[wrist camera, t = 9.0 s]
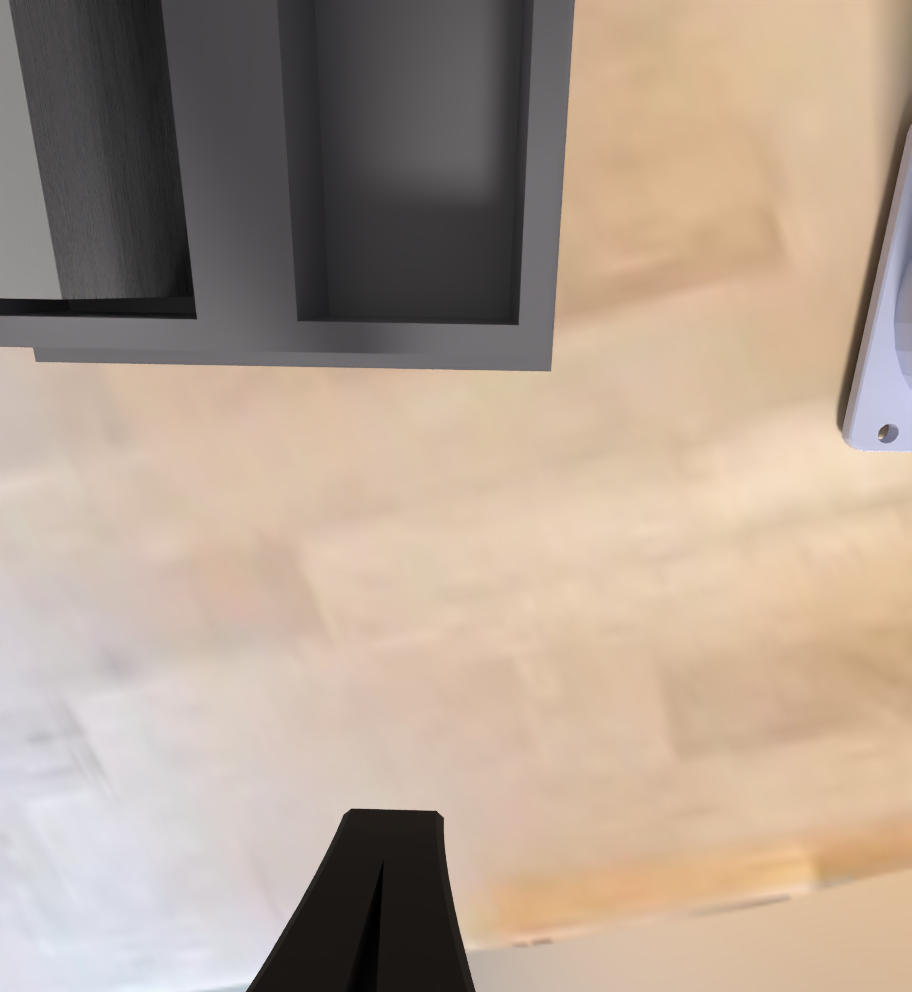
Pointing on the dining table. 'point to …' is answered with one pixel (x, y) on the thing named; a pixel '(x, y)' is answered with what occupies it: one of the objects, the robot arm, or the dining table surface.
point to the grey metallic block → (89, 153)
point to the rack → (350, 191)
